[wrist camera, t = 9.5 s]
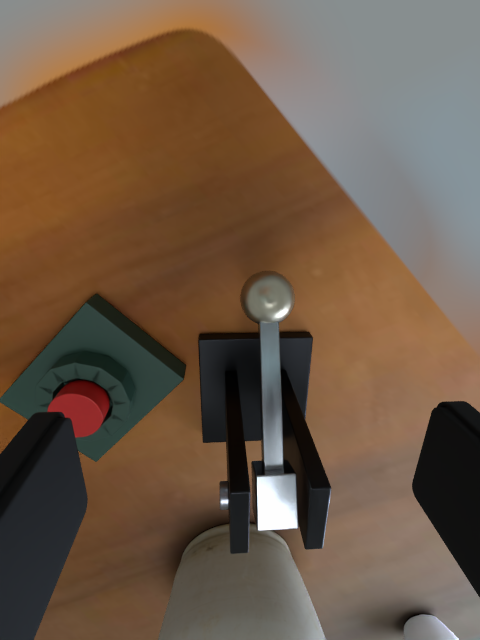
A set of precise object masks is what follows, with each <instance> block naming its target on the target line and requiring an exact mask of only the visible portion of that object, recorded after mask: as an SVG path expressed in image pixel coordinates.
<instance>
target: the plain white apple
mask: <svg viewBox="0 0 480 640" xmlns="http://www.w3.org/2000/svg"><path fill="white" fill-rule="evenodd" d="M404 640H459V639H458V638H457V637H456V636H455V635H454V634H453V633H452V632H451V631H450V630H449V629H448V628H447V627H446V626H445V625H444V624H443V623H442V622H441V621H440V620H439V619H438V618H437V617H435V616H433V615H425V614H421V615H417V616H414V617H411V618H410V619H409V620H408V621H407V622H406V623H405V625H404Z"/></svg>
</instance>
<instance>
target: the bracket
mask: <svg viewBox="0 0 480 640" xmlns="http://www.w3.org/2000/svg"><path fill="white" fill-rule="evenodd" d="M279 342H280V371H281V400H282V428H283V457H284V460H288V461H289V463H290V465H291V466H292V468H293V469H294V471H295V473H296V474H297V498H298V523H299V527H300V531H301V535H302V539H303V543H304V547H305V549H322V548H323V543H324V536H325V529H326V522H327V514H328V507H329V502H330V493H331V486H330V483H329V481H328V478H327V476H326V473H325V470H324V468H323V465H322V463H321V460H320V457H319V455H318V452H317V449H316V447H315V444H314V442H313V439H312V436H311V434H310V431H309V429H308V426H307V423H306V421H305V416H306V406H307V395H308V384H309V374H310V363H311V352H312V342H313V337H312V336H311V334H310V332H279ZM198 343H199V366H200V389H201V411H202V434H203V443H210V442H226V451H227V478H228V481H221V482H220V510H228V509H229V534H230V553H231V554H240V553H248V552H249V527H250V485H249V475H248V466H247V457H246V448H245V441H259V440H261V412H260V377H259V342H258V333H226V334H199V340H198Z"/></svg>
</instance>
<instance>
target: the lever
mask: <svg viewBox="0 0 480 640" xmlns="http://www.w3.org/2000/svg"><path fill="white" fill-rule="evenodd" d="M240 301H241V306H242V309H243V311H244V313H245V314H246V315H247V317H248V318H249V319H251V320H252V321H254V322H256V323H258V342H259V377H260V412H261V446H262V461H252V463H251V464H252V503H253V513H254V518H255V523H256V528H257V531H269V530H286V529H298V527H299V524H298V498H297V474H296V473H295V471H294V469H293V468H292V466H291V465H290V463H289V461H288V460H284V457H283V428H282V400H281V371H280V342H279V322H281V321H283V320H284V319H285V318H286V317H287V316H288V315H289V314H290V313H291V311H292V309H293V306H294V302H295V294H294V289H293V287H292V285H291V283H290V282H289V280H288V279H287V278H286V277H284V276H283V275H281V274H279V273H277V272H274V271H262V272H258V273H256V274H254V275H252V276H251V277H250V278H249V279H248V280H247V281H246V282H245V284H244V285H243V287H242V290H241V295H240Z"/></svg>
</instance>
